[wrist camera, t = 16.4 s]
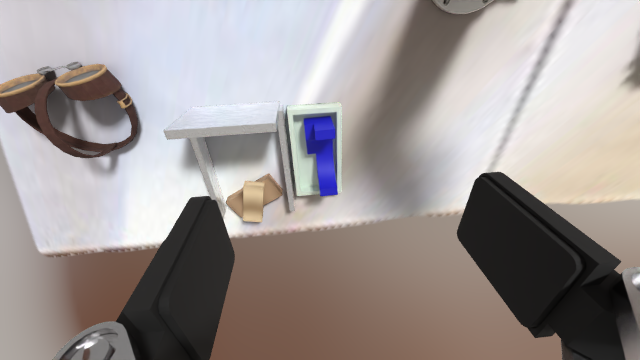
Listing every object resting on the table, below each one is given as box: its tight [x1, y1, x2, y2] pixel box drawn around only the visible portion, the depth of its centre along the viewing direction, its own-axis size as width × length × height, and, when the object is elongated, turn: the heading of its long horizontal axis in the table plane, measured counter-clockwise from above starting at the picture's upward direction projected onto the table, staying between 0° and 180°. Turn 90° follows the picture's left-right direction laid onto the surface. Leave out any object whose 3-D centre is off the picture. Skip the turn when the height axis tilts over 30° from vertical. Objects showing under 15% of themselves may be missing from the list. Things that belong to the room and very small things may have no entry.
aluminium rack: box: [164, 101, 295, 217], centre depth 42 cm, size 15×21×10 cm
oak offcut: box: [243, 181, 265, 222], centre depth 47 cm, size 8×4×2 cm, turn 171°
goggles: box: [0, 62, 138, 158], centre depth 36 cm, size 15×13×10 cm
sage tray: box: [287, 102, 342, 196], centre depth 45 cm, size 9×17×2 cm, turn 3°
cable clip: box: [304, 116, 338, 196], centre depth 43 cm, size 12×4×6 cm, turn 4°
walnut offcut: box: [226, 174, 283, 217], centre depth 49 cm, size 10×4×2 cm, turn 121°
